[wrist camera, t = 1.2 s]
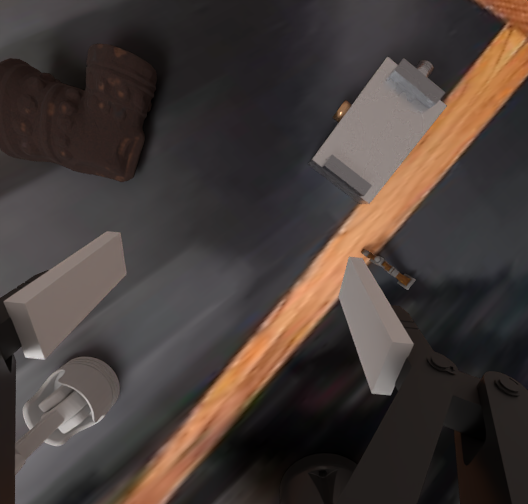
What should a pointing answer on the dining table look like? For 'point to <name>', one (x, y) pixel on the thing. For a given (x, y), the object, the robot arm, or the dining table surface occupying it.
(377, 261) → the wooden post with brackets
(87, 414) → the engine component
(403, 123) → the machine vise
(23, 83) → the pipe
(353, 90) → the dining table surface
